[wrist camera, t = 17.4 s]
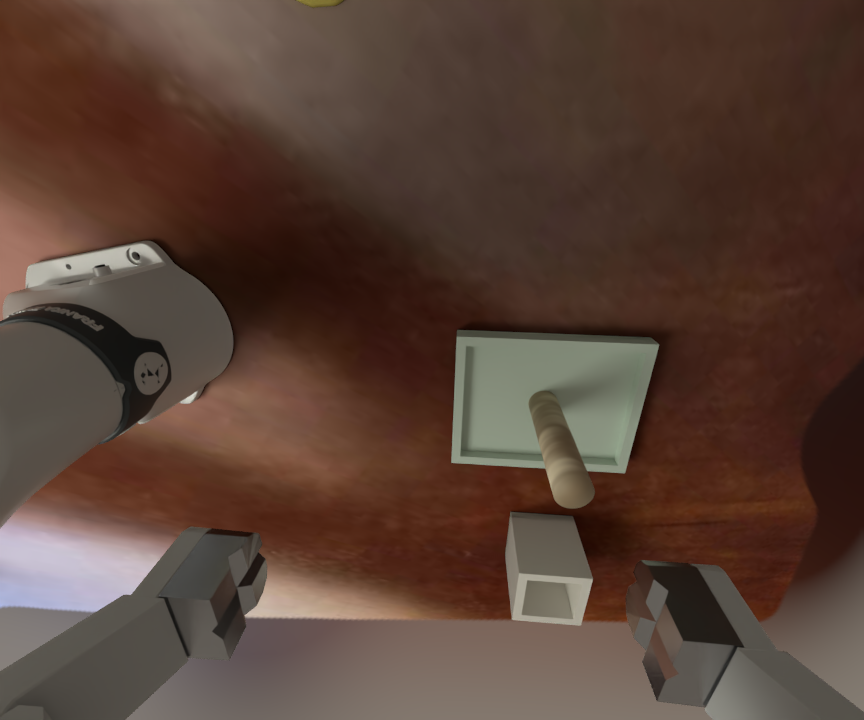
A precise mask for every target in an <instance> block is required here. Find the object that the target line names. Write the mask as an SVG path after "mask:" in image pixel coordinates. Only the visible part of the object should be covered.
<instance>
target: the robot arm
mask: <svg viewBox="0 0 864 720" xmlns="http://www.w3.org/2000/svg"><path fill="white" fill-rule="evenodd" d="M137 253H138V254H139V255H140V258H139V257H138V255H137ZM3 318H4V320H2V321H0V528H1V527H2V526H3V525H4V524H5V523H6V522H7V520H8V519H9V518H10V517H11V516H12V515H13V514H14V513H15V512H16V511H17V510H18V509H19V508H20V507H21V506H22V505H23V504H24V503H25V502H26V501H27V500H28V499H29V498H30V497H31V496H32V495H33V494H35V493H36V492H37V491H38V490H39V489H41V488H42V487H43V486H44V485H46V484H47V483H48V482H49V481H50V480H52V479H53V478H54V477H55V476H57V475H58V474H59V473H61V472H62V471H63V470H64V469H66V468H67V467H68V466H69V465H71V464H72V463H73V462H75V461H76V460H77V459H78V458H80V457H81V456H82V455H84V454H85V453H86V452H88V451H89V450H90V449H92V448H93V447H94V446H96V445H98V444H102V443H105V442H108V441H110V440H112V439H114V438H115V437H117V436H119V435H121V434H122V433H125V432H126V431H128V430H129V429H131V428H132V427H133V426H135V425H136V423H139V424H143V423H146V422H149V421H150V420H152V419H154V418H155V417H157V416H159V415H160V414H162V413H163V412H165V411H167V410H168V409H170V408H171V407H173V406H175V405H176V404H178V403H183V404H190V403H192V402H193V401H195V400H197V399H198V398H199V396H200V395H201V393H202V391H203V389H204V387H205V385H206V384H207V383H208V382H210V381H211V380H213V379H214V378H216V377H217V376H218V375H220V374H221V373H222V372H223V371H224V369H225V368H226V367H227V365H228V363H229V361H230V359H231V356H232V352H233V333H232V328H231V324H230V321H229V319H228V316H227V314H226V312H225V310H224V308H223V307H222V305H221V303H220V302H219V301H218V299H217V298H216V297H215V295H214V294H213V293H212V292H211V291H210V290H209V289H208V288H207V287H206V286H205V285H204V284H203V283H202V282H200V281H199V280H198V279H196V278H195V277H193V276H192V275H190V274H189V273H187V272H185V271H184V270H182V269H181V268H179V267H178V266H177V265H176V264H174V262H173V261H172V260H171V259H170V258H169V256H168V255H167V254H166V253H165V252H164V251H163V250H162V249H161V248H160V247H159V246H158V245H157V244H156V243H154V242H152V241H141V242H136V243H131V244H125V245H120V246H115V247H110V248H105V249H100V250H95V251H90V252H85V253H80V254H75V255H70V256H65V257H60V258H55V259H50V260H45V261H40V262H37V263H34V264H31V265H29V266H28V268H27V273H26V289H23V290H19V291H15V292H12V293H10V294H8V295H7V297H6V298H5V301H4V304H3ZM261 546H262V542H261V538H260V535H259V534H258V533H252V532H242V531H232V530H222V529H213V528H212V529H211V528H200V527H189V528H188V529H186V530H184V531H183V532H182V533H181V534H180V535H179V537H178V538H177V539H176V540H175V541H174V543H173V544H172V545H171V546H170V548H169V549H168V550H167V551H166V553H165V554H164V555H163V556H162V557H161V559H160V560H159V561H158V562H157V564H156V565H155V566H154V567H153V569H152V570H151V571H150V572H149V573H148V575H147V576H146V577H145V578H144V580H143V581H142V582H141V583H140V585H139V586H138V587H137V588H136V590H135V591H134V592H133V593H132V594H131V595H123V596H121V597H120V598H118V599H116V600H115V601H113V602H111V603H110V604H108V605H107V606H105V607H103V608H102V609H100V610H99V611H97V612H95V613H94V614H92V615H90V616H89V617H88V618H86V619H84V620H82V621H81V622H79V623H77V624H76V625H74V626H73V627H71V628H69V629H68V630H66V631H65V632H63V633H61V634H60V635H58V636H57V637H55V638H53V639H52V640H50V641H48V642H47V643H45V644H44V645H42V646H40V647H39V648H37V649H36V650H34V651H32V652H31V653H29V654H27V655H26V656H24V657H23V658H21V659H19V660H18V661H16V662H14V663H13V664H12V665H10V666H8V667H6V668H5V669H3V670H2V671H0V720H125V719H126V718H127V717H129V716H130V715H131V714H132V713H133V712H134V711H135V710H136V709H137V708H138V707H139V706H140V705H141V704H142V703H143V702H144V701H146V700H147V699H148V698H149V697H150V696H151V695H152V694H153V693H154V692H155V691H156V690H157V689H158V688H160V686H162V685H163V684H164V683H165V682H166V681H167V680H168V679H169V678H170V677H171V676H172V675H174V673H176V672H177V671H178V670H179V669H180V668H181V667H182V666H183V665H184V664H185V663H186V662H187V661H188V658H198V659H215V660H230V658H231V656H232V654H233V652H234V650H235V648H236V646H237V644H238V642H239V640H240V638H241V636H242V634H243V632H244V630H245V628H246V622H245V616H244V615H245V614H247V613H248V612H249V611H250V610H252V609H253V608H254V607H255V606H257V604H258V602H259V599H260V597H261V595H262V593H263V590H264V586H265V582H266V579H267V564H266V559H265V558H264V557H263V556H262V555H261V554H260V553H259V552H258V551H259V549H260V548H261ZM633 573H634V575H635V578H636V580H637V582H635V583H634V584H632V585H631V586H629V587H628V591H627V595H626V614H627V619H628V623H629V626H630V629H631V632H632V635H633V638H634V639H635V640H636V641H637V642H638V643H639V644H640V645H641V646H642V647H643V648H644V649H645V650H646V652H645V655H644V658H643V661H642V662H643V665H644V667H645V670H646V673H647V676H648V679H649V681H650V684H651V687H652V689H653V692H654V695H655V697H656V700H657V701H659V702H667V703H675V704H683V705H691V706H699V707H706V708H705V711H706V712H707V714H708V715H709V716H710V717H711V718H712V719H713V720H864V712H863V711H862V710H860V709H859V708H858V707H856V706H855V705H854V704H853V703H851V702H850V701H849V700H848V699H846V698H845V697H844V696H842V695H841V694H840V693H839V692H837V691H836V690H835V689H833V688H832V687H831V686H830V685H828V684H827V683H826V682H825V681H823V680H822V679H821V678H819V677H818V676H817V675H815V674H814V673H813V672H812V671H810V670H809V669H808V668H807V667H805V666H804V665H803V664H802V663H800V662H799V661H798V660H796V659H795V658H794V657H793V656H791V655H790V654H789V653H787V652H784V651H778V650H777V649H776V647H775V646H774V644H773V643H772V641H771V640H770V639H769V637H768V636H767V634H766V633H765V631H764V629H763V628H762V627H761V625H760V623H759V622H758V620H757V619H756V617H755V616H754V614H753V613H752V612H751V610H750V609H749V607H748V606H747V604H746V603H745V601H744V600H743V598H742V597H741V595H740V594H739V592H738V591H737V589H736V588H735V586H734V585H733V583H732V582H731V580H730V579H729V577H728V576H727V574H726V573H725V571H724V570H723V569H721V568H720V567H719V566H715V565H701V564H688V563H678V562H661V561H644V560H640V561H639V562H638V563H637V564H636V566H635V569H634V572H633Z"/></svg>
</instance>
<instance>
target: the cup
mask: <svg viewBox="0 0 864 720" xmlns="http://www.w3.org/2000/svg"><path fill="white" fill-rule="evenodd" d="M505 558H506V567H507V577H508V586H509V596H510V605H511V615H512V620H520V621H532V622H544V623H556V624H568V625H580V626H581V623H582V619H583V615H584V611H585V607H586V604H587V600H588V596H589V592H590V588H591V585H592V581H593V578H592V574H591V571H590V568H589V565H588V562H587V559H586V556H585V552H584V549H583V546H582V543H581V540H580V537H579V534H578V531H577V527H576V524H575V521H574V518H573V516H565V515H550V514H535V513H520V512H511V513H510V521H509V529H508V537H507V545H506V553H505Z"/></svg>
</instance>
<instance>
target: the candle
mask: <svg viewBox="0 0 864 720" xmlns="http://www.w3.org/2000/svg"><path fill="white" fill-rule="evenodd" d="M296 1H298V2H301V3H303V4H305V5H308V6H310V7H312V8H314V7H326V6H336V5H338V4H339V3H341V2H342V1H344V0H296Z"/></svg>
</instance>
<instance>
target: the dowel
mask: <svg viewBox="0 0 864 720" xmlns="http://www.w3.org/2000/svg"><path fill="white" fill-rule="evenodd" d="M528 405H529V409H530V413H531V417H532V420H533V424H534V428H535V431H536V435H537V438H538V442H539V446H540V449H541V453H542V457H543V460H544V464H545V468H546V471H547V475H548V478H549V482H550V486H551V489H552V493H553V497H554V499H555V501H556V502H557V503H558V504H559V505H561V506H563V507H565V508H580V507H583V506H585V505H587V504H588V503H589V502H590V501H591V500H592V499H593V497H594V494H595V490H594V487H593V484H592V482H591V479H590V477H589V475H588V472H587V470H586V467H585V465H584V463H583V460H582V458H581V455H580V453H579V450H578V448H577V446H576V443H575V441H574V438H573V436H572V434H571V431H570V429H569V426H568V424H567V421H566V419H565V417H564V414H563V412H562V409H561V407H560V404H559V402H558V400H557V397H556V396H555V395H554V394H553V393H551V392H549V391H539V392H536V393H535V394H533V395H532V396H531V398H530V399H529V403H528Z"/></svg>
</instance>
